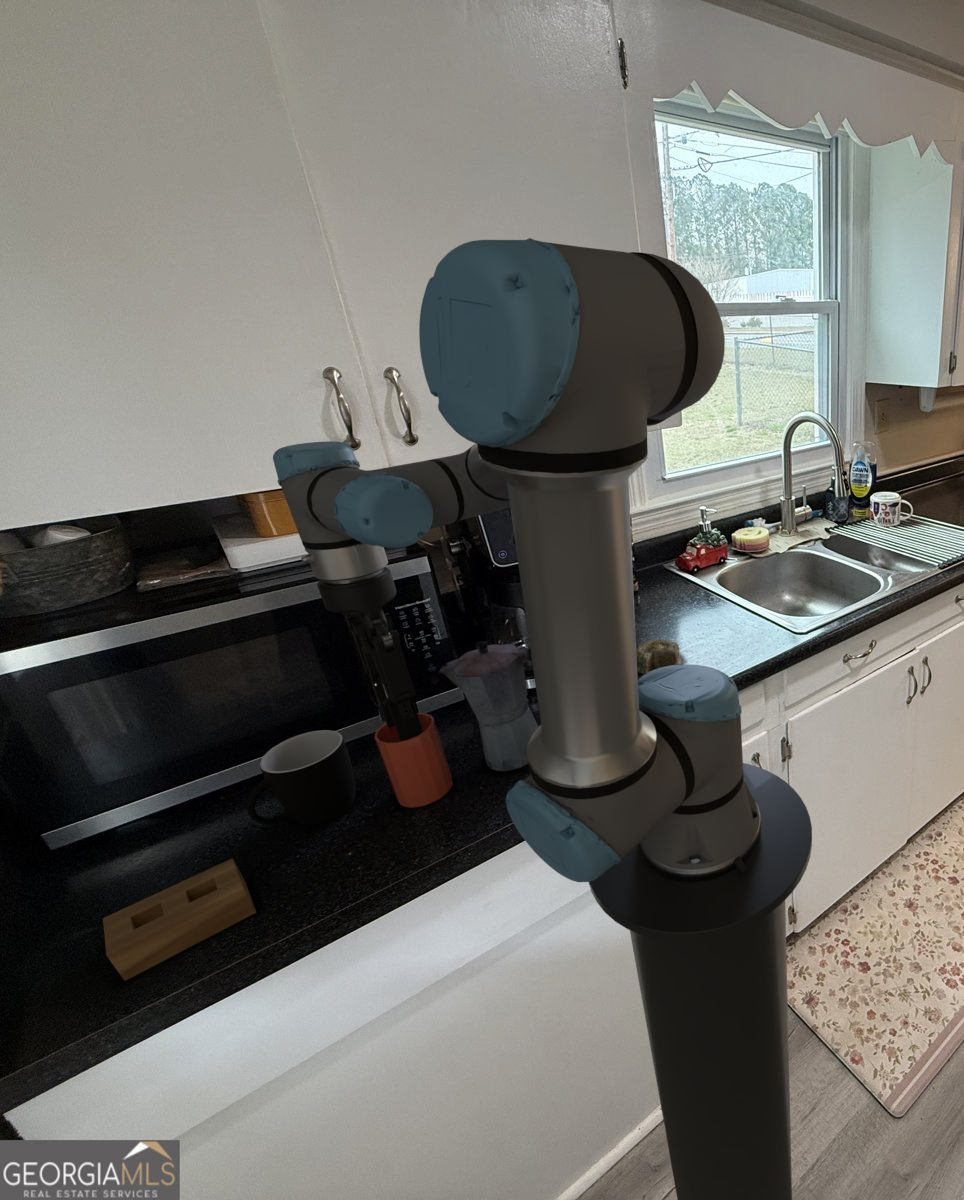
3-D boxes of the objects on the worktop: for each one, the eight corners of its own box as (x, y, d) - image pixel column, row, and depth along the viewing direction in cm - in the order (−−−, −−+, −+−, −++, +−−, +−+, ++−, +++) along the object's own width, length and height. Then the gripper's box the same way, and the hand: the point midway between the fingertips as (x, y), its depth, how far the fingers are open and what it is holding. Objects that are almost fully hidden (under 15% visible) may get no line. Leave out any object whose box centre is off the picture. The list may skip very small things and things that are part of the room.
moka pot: (468, 745, 99) (437, 635, 90) (570, 725, 103) (549, 618, 95) (461, 784, 90) (425, 666, 82) (571, 760, 95) (548, 646, 87)
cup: (460, 788, 90) (441, 726, 85) (407, 815, 85) (384, 750, 80) (441, 767, 94) (422, 707, 89) (390, 791, 89) (367, 729, 84)
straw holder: (256, 912, 71) (243, 887, 69) (124, 981, 64) (106, 955, 62) (245, 882, 75) (232, 857, 73) (119, 943, 68) (102, 918, 66)
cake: (624, 664, 123) (620, 639, 121) (670, 649, 128) (667, 626, 126) (644, 681, 115) (640, 655, 113) (692, 665, 120) (689, 640, 119)
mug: (342, 779, 91) (319, 722, 87) (378, 798, 88) (356, 740, 83) (247, 834, 82) (216, 773, 78) (283, 858, 78) (253, 796, 74)
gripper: (297, 564, 78) (354, 717, 88) (337, 602, 67) (397, 771, 77) (365, 549, 83) (412, 695, 93) (412, 582, 72) (459, 743, 82)
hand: (405, 729), depth 85 cm, fingers closed on cup, 4 cm apart
